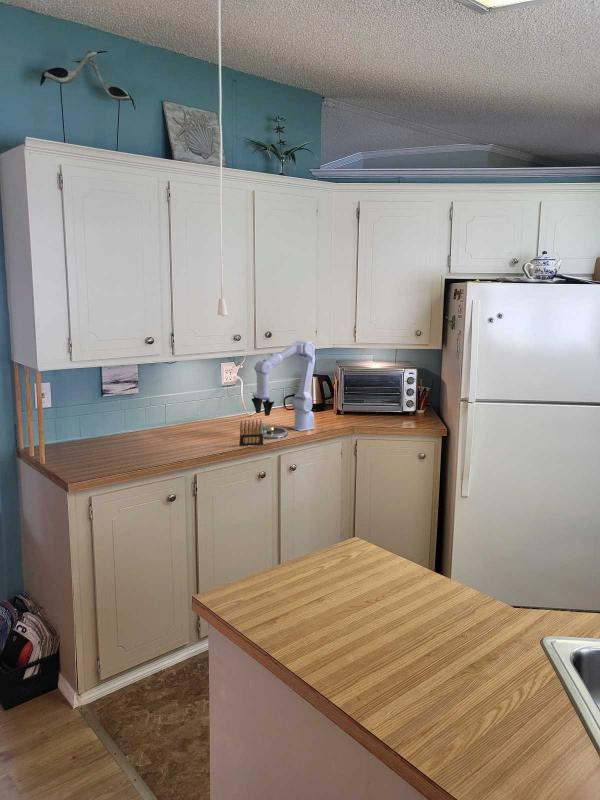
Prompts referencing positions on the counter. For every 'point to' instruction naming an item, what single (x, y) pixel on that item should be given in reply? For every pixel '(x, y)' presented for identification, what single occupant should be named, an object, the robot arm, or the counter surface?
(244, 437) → the ammunition clip
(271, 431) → the round metal bowl
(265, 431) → the teal mushroom knob
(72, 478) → the counter surface
